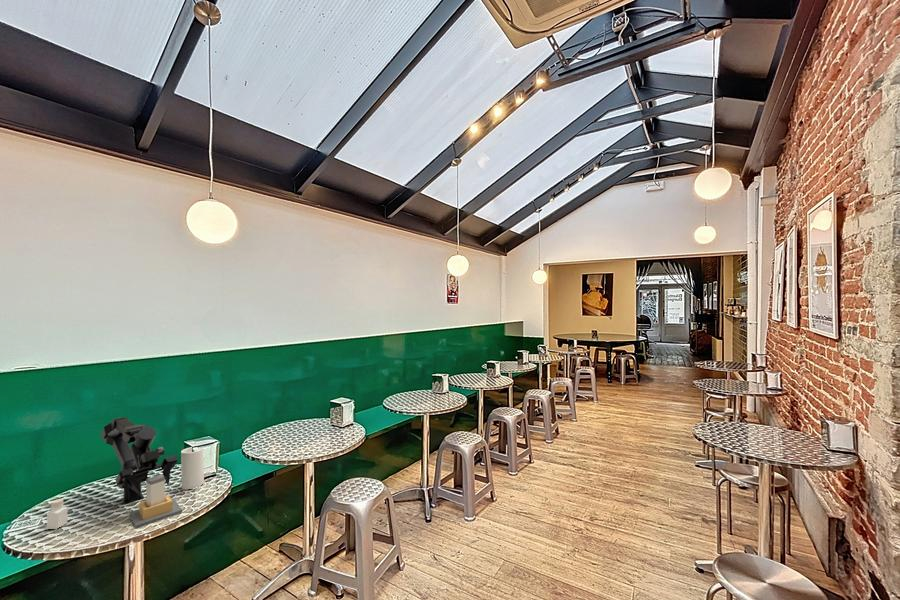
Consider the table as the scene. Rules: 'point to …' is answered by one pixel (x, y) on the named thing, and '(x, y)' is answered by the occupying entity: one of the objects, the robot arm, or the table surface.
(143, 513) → the socket plate
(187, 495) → the table surface
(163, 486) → the plug
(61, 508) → the pepper shaker
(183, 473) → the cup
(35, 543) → the table surface
